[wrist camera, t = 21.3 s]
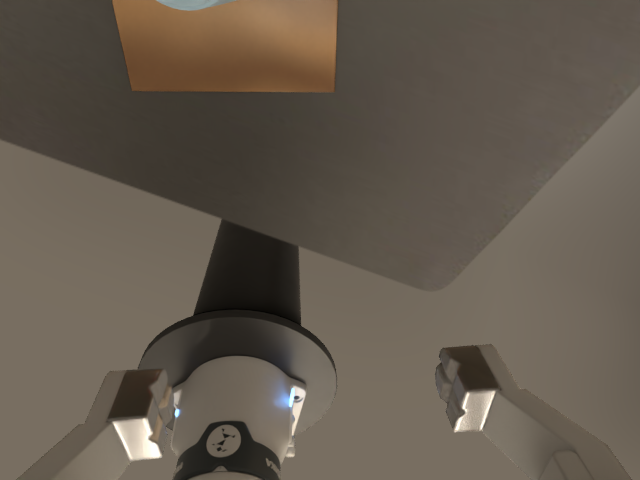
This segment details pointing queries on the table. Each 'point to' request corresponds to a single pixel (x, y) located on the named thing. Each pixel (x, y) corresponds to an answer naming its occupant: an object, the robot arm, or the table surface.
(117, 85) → the table surface
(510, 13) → the table surface
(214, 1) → the bottle
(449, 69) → the table surface
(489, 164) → the table surface
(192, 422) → the robot arm
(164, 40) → the mat
